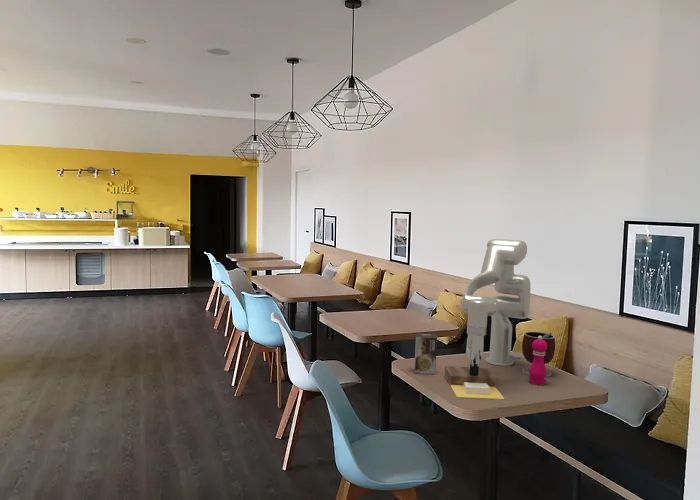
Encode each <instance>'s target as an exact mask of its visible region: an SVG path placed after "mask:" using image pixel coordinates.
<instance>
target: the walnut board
mask: <svg viewBox="0 0 700 500" xmlns="http://www.w3.org/2000/svg"><path fill="white" fill-rule="evenodd" d="M469 373H470V366H452V365H445V366H444V377H445V379H446V380H447V382H448V384H449V386H450V385H464V382H467V383H487V385H488V386H491V387H496V376H494V374H493V373H492V372H491V371H490V370H489V368H487V367H479V372H478V376H471V375H470V374H469Z"/></svg>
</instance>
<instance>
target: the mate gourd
mask: <svg viewBox="0 0 700 500" xmlns="http://www.w3.org/2000/svg"><path fill="white" fill-rule="evenodd" d="M538 336H542V340H544V341H545V342H546V343H547V349H546V350H545V352H546V353H545V355H544V365H547V364H549V363H550V362H551V361H552V360H553V359H554V357H555V354H556V353H555V352H556V337H555V335H553V334H552V332H548V333H547V332H540V331H526V332H524V334H523V337H522V342H521V343H522V344H521V350H522V355H523V357H524V359H525V360H526V361H527V362H529V363H531V364H532V363H533V360H534V354H533V350H534V349H533V347H532V343H533V341H534V340H536V339H538ZM529 368H530V366H529V367H523V368H522V369H521V370H522V373H524V374H526V375H528V376H530V374H529ZM546 370H547V375H546V377H545V378H548V377H551V376H552V372H551V371H550V370H548V369H546Z"/></svg>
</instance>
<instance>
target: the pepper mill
mask: <svg viewBox="0 0 700 500" xmlns="http://www.w3.org/2000/svg"><path fill="white" fill-rule="evenodd" d="M532 347H533V349H534V350H533V354H534V360H533V363H531V365H530V366H529V367H530V368H529V374H530V375H529V379H528V381H529V383H530V384H532V385H536V386H538V385H539V386H543V385H546V379H545V378H547V377H546V375H547V370H548V369H547V368H546V364H544V355H545V353H546V352H545V350H546V349H547V343H546V342H545V341H544V340H542V336H538V339H536V340H534V341H533V343H532Z"/></svg>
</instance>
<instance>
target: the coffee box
mask: <svg viewBox="0 0 700 500" xmlns="http://www.w3.org/2000/svg"><path fill="white" fill-rule="evenodd" d="M437 342H438V337H437V334H434V333H433V334H431V333H415V345H414V346H415V350H414V351H415V352H414V367H413V368H414V369H413V370H414V374H425V375H426V374H427V375H428V374H429V375H436V372H437V344H438V343H437Z"/></svg>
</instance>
